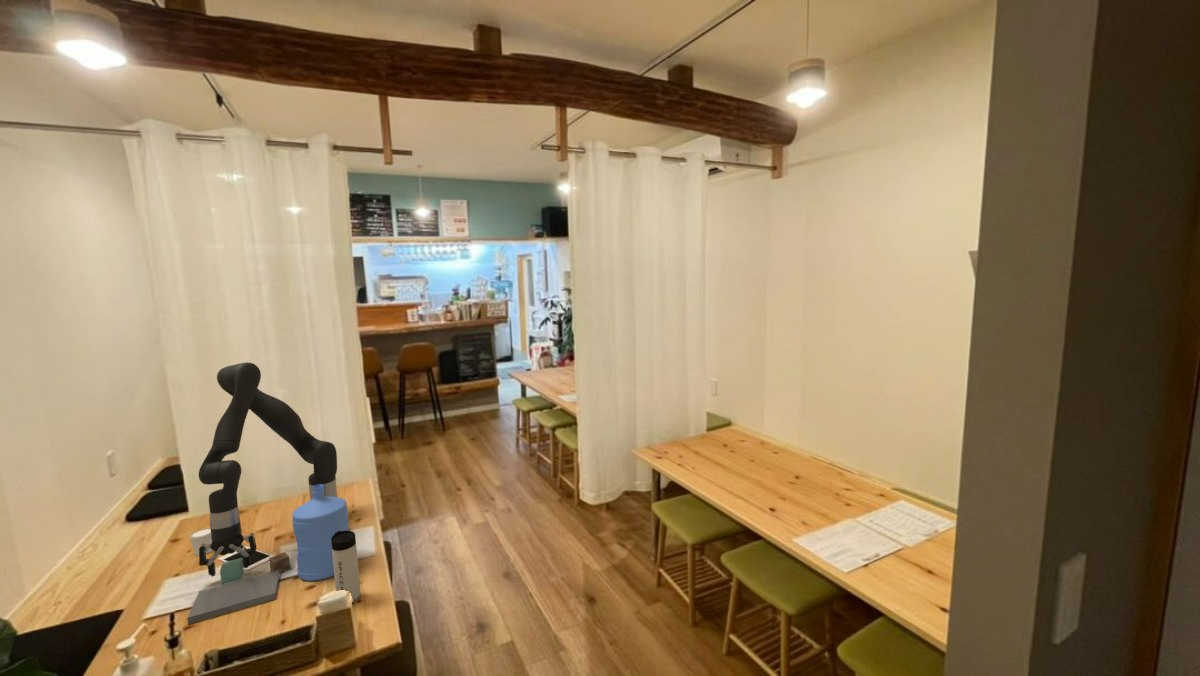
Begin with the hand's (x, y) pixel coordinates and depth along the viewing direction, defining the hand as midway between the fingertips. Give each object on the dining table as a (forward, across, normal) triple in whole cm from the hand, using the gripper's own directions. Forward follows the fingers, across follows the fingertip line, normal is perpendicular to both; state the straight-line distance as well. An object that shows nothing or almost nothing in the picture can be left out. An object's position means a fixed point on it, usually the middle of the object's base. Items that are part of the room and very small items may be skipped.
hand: (230, 571), depth 152 cm
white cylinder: (+3, +12, -27) cm, 29 cm away
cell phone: (+3, -2, -12) cm, 13 cm away
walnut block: (+3, -14, +3) cm, 14 cm away
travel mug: (+3, -33, +33) cm, 46 cm away
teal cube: (+3, 0, 0) cm, 3 cm away
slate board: (+3, -4, +14) cm, 15 cm away
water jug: (+3, -27, +10) cm, 28 cm away
